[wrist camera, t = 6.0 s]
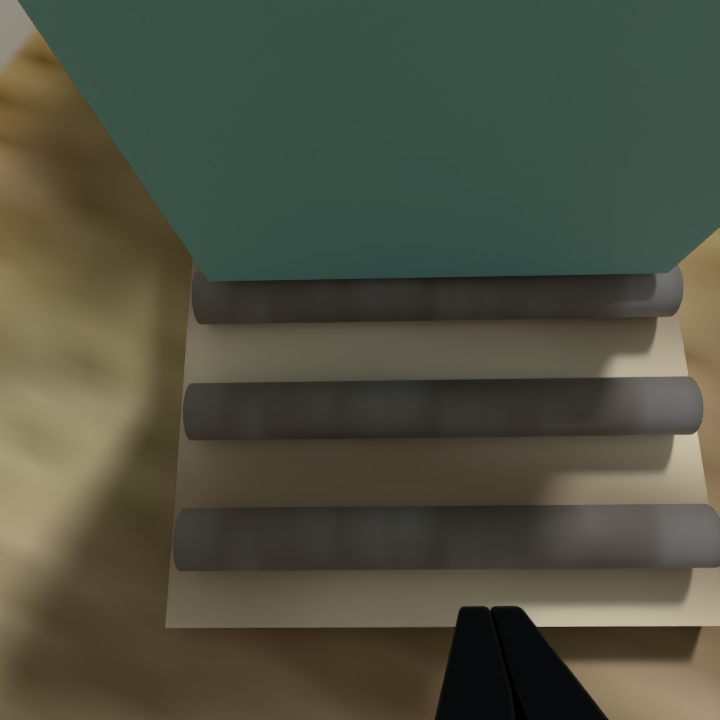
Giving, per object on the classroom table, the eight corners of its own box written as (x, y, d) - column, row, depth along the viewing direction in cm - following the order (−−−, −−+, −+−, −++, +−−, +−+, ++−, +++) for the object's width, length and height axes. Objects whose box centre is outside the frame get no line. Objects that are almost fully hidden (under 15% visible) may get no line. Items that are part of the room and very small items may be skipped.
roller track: (705, 619, 15) (915, 676, 9) (178, 621, 15) (55, 679, 9) (615, 23, 20) (714, -188, 14) (218, 34, 20) (154, -168, 14)
